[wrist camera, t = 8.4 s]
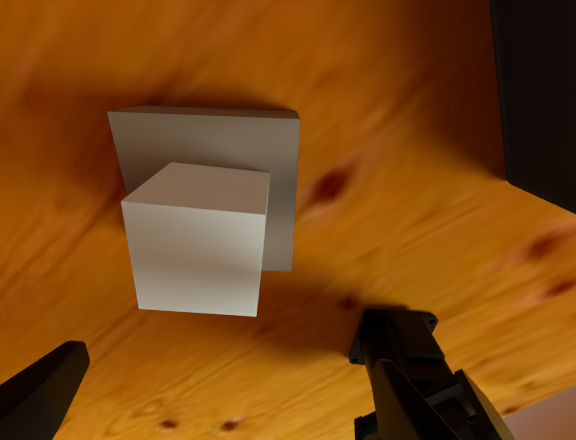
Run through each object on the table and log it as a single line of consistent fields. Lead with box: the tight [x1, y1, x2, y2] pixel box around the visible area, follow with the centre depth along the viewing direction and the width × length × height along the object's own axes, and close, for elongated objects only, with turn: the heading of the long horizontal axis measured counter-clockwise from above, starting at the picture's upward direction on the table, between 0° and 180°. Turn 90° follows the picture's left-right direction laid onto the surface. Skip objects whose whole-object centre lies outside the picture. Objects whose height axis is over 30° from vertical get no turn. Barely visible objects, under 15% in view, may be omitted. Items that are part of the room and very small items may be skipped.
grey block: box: [107, 105, 300, 271], centre depth 17 cm, size 9×9×4 cm
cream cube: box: [121, 162, 270, 317], centre depth 13 cm, size 5×5×5 cm
